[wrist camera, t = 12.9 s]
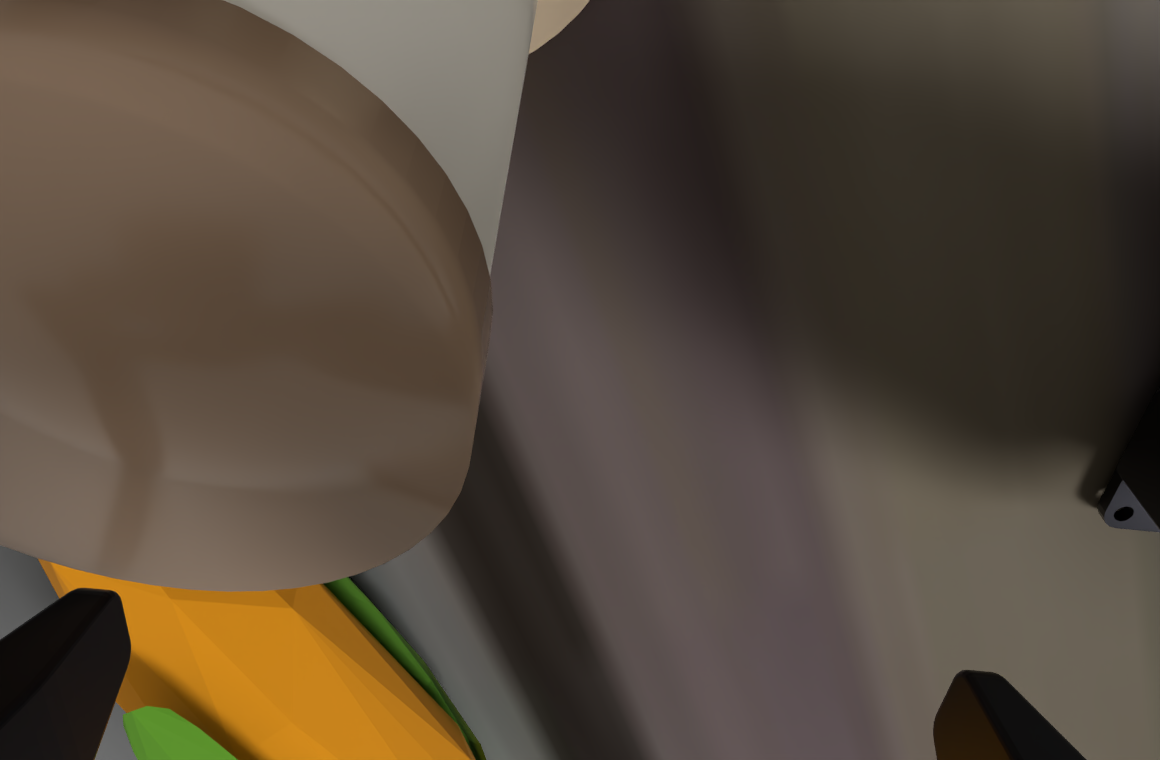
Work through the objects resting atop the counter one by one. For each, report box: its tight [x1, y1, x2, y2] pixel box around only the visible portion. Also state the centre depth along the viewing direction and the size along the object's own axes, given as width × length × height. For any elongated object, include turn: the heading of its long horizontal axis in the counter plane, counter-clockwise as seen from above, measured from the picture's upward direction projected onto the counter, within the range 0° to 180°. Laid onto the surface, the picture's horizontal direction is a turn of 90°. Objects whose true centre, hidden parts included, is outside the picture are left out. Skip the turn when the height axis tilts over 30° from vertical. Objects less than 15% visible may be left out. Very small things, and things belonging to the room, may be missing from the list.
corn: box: [38, 558, 486, 760], centre depth 25 cm, size 7×8×20 cm
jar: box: [0, 0, 538, 592], centre depth 12 cm, size 6×6×13 cm
